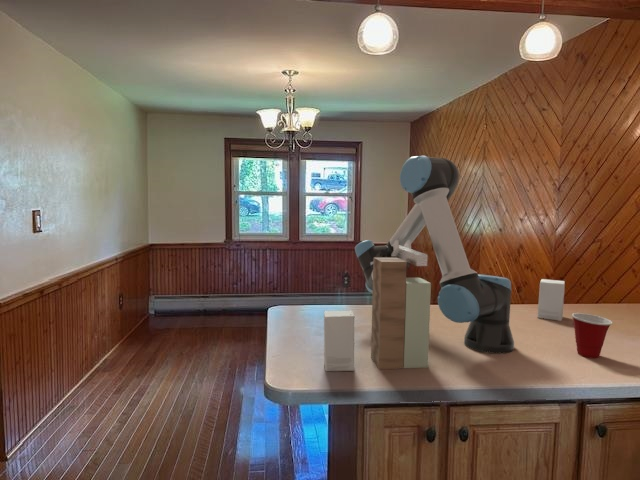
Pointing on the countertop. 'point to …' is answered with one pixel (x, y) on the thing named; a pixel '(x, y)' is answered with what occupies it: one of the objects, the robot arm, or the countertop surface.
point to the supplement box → (551, 299)
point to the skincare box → (339, 340)
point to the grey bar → (411, 256)
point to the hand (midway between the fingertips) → (403, 244)
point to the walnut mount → (388, 312)
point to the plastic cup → (590, 333)
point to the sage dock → (416, 323)
